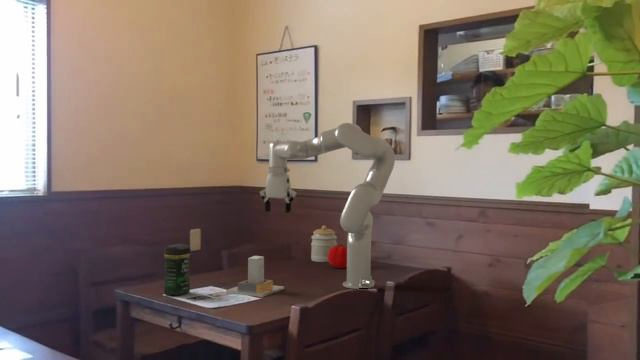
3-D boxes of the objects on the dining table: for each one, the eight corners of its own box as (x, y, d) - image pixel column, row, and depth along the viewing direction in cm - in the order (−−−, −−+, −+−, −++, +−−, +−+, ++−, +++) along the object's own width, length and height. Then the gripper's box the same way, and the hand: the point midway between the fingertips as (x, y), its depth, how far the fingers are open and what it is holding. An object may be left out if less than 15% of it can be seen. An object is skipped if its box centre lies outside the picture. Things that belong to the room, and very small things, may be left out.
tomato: (331, 270, 280) (331, 245, 279) (325, 265, 291) (325, 242, 290) (356, 269, 282) (356, 245, 282) (349, 265, 294) (349, 242, 293)
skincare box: (254, 286, 238) (254, 255, 237) (264, 287, 236) (264, 256, 236) (247, 289, 232) (247, 257, 231) (257, 290, 231) (258, 258, 230)
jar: (308, 262, 301) (309, 226, 301) (313, 257, 314) (313, 223, 314) (334, 263, 299) (335, 227, 299) (338, 258, 312) (338, 224, 312)
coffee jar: (178, 297, 222) (178, 246, 221) (160, 295, 225) (160, 245, 224) (193, 292, 231) (193, 243, 230) (176, 290, 234) (176, 241, 233)
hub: (283, 289, 238) (284, 280, 238) (262, 297, 223) (262, 287, 223) (248, 285, 245) (249, 276, 245) (226, 292, 230) (226, 283, 230)
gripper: (300, 171, 256) (300, 212, 257) (264, 170, 264) (264, 210, 264) (292, 171, 249) (291, 213, 250) (255, 171, 257) (255, 211, 257)
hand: (277, 211), depth 257 cm, fingers open, 9 cm apart
